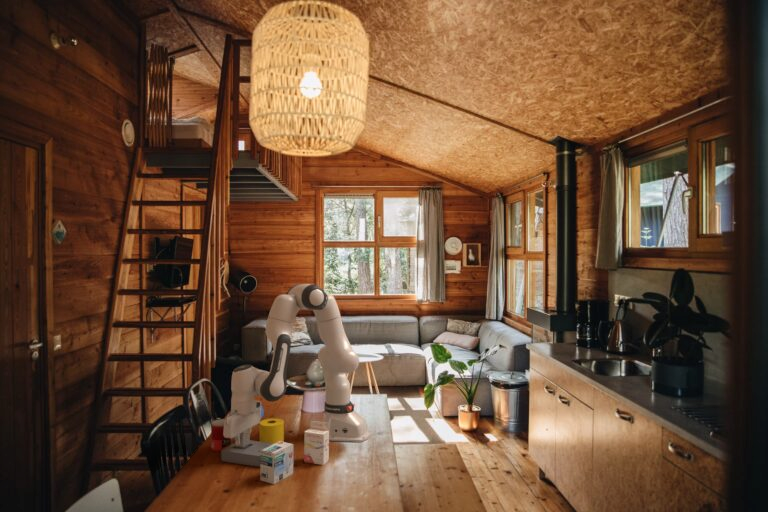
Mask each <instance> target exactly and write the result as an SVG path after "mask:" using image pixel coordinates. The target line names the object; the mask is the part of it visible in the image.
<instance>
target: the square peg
mask: <svg viewBox="0 0 768 512" xmlns="http://www.w3.org/2000/svg"><path fill="white" fill-rule="evenodd" d="M239 438H240V439H241V440H242V441H241V442H242V443H241V444H240V445H236V444H235V448H236V449H243V450H245V449H246V448H248V447H250V440H251V433H250V427H249V428H247V429H246V430H244V431H243V432H242V433H241V434H240V436H239Z"/></svg>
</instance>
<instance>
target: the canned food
mask: <svg viewBox="0 0 768 512" xmlns="http://www.w3.org/2000/svg"><path fill="white" fill-rule="evenodd" d="M225 419H226V418H221V419H220V418H219V419H216V420H212V421H211V425H210V426H211V429H210V434H211V435H210V436H211V438H210V439H211V440H210V444H211V445H210V446H211V447H210V448H211V450H212V451H213V452H215V453H216V452H217V453H221V450H223V449H225V448H227V447H228V446H230V445H232V438H225V437H224V435H223V431H224V422H225Z"/></svg>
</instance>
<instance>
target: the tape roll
mask: <svg viewBox="0 0 768 512" xmlns="http://www.w3.org/2000/svg"><path fill="white" fill-rule="evenodd" d="M284 440H285V420H284V419H282V418H278V417H277V418H273V417H270V418H265V419H263V420H262V419H261V420H260V423H259V442H267V443H274V444H275V443H277V442H279V441H282V442H285V441H284Z"/></svg>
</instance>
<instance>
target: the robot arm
mask: <svg viewBox="0 0 768 512" xmlns="http://www.w3.org/2000/svg"><path fill="white" fill-rule="evenodd" d="M300 310H304V311H305V310H312V311H313V314H314V317H315V322H316V325H317V330H318V334H319V338H320V339H321V341H322V343H323V344H324V346H322V347H321V348H320V349H319V351H318V354H317V355H318V356H317V359H318V361H319V363H320V365H321V369H322V370H321V371H322V375H323V378H324V386H325V401H324V406H323V408H324V421H323V422H326V423H328V428H329V441H331V442H332V441H335V442H351V443H352V442H354V443H355V442H356V443H361V442H365V441H367V440H368V439H370V438H371V436H372V435H373V431H372V429H368V426H367V425H368V423H367V420H366V419H365V418H364V417H362V415H360V414H359V412H357V411H356V410H355V406H356V402H354V403H352V401H351V383H350V381H349V379H348V376H347V374H352V373H354V372H355V371H357V369H358V367H359V364H360V358H359V356H358V354H357V353H356V352H355V351H354V350H355V349H353V347H352V345H351V343H350V341H349V339H348V336H347V335H346V331H345V328H344V325H343V322H342V321H343V320H342V317H341V312H340V310H339V306H338V303H337V300H336V298H335V296H334V295H333V294H331V293H326V292H325V290H324V289H323V288H322V287H321V286H319V285H317V284H311V283H303V284H301V283H300V284H295V285H293V286H291V287H290V288H289V289H288V291H287V292H286V293H285V294H279V295H278V296H276V297H275V298H274V301H273V303H272V305H271V307H270V310H269V313H268V317H267V320H266V324H265V335H266V338H267V339H268V340H269V342H270V343H271V345H272V350H273V355H272V360H271V365H270V369H269V371H267V370H263V369H259V368H257V367H254V366H253V365H252V364H242V365H239V366H237V367H236V368H234V369H233V371H232V375H231V385H230V386H231V387H230V388H231V399H230V404H231V405H230V406H231V408H230V412H229V413H228V414H227V416H226V417H225V418H224V419H225V422H224V431H223V435H224V437H225V438H231V439H234V441H235V442H234V443H235V444H236V445H240V444H241V443H242V442H241V441H242V440H241V439H240V438H239V436H240V434H241V433H242V432H243V431H244V430H246V429H247V428H249V427H250V434H251V433H252V430H253V429H252V428H254V427H256V426H257V425H260V421H262V419H261V408H260V407H261V406H262V401H260V400H255V397H256V396H260V397H262V398H263V399H264V400H265V401H267V402H270V403H272V402H277V401H279V400H281V399H282V398H283V397H284V395H285V393H286V391H287V387H288V386H287V385H288V384H287V369H288V365H289V359H290V355H291V354H290V353H291V347H292V333H293V329H294V325H295V321H296V318H297V317H296V316H297V315H298V313H299V312H300Z"/></svg>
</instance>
